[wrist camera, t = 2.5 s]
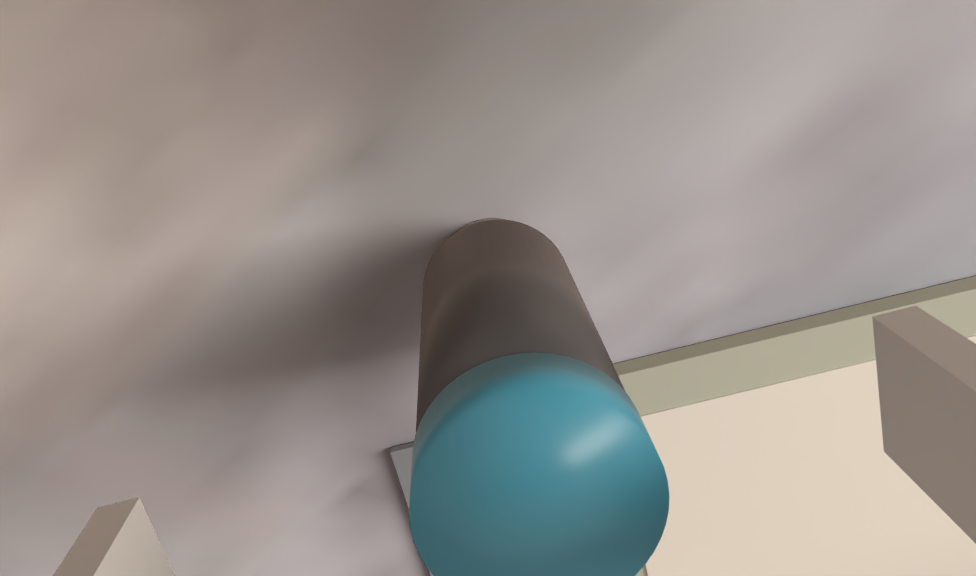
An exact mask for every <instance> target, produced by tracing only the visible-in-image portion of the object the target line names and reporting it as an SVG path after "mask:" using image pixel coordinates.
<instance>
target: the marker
mask: <svg viewBox="0 0 976 576" xmlns="http://www.w3.org/2000/svg"><path fill="white" fill-rule="evenodd" d="M668 512H669V487H668V480H667V476H666V472H665V469H664V466H663V464H662V461H661V459H660V457H659V455H658V453H657V450H656V448H655V446H654V444H653V442H652V440H651V438H650V436H649V434H648V431H647V429H646V427H645V425H644V423H643V421H642V419H641V417H640V415H639V412H638V410H637V408H636V406H635V405H634V403H633V402H632V400H631V399H630V397H629V395H628V394H627V393H626V392H625V389H624V387H623V385H622V383H621V381H620V379H619V376H618V374H617V372H616V370H615V368H614V366H613V364H612V361H611V359H610V357H609V355H608V353H607V351H606V349H605V346H604V344H603V342H602V340H601V338H600V336H599V333H598V331H597V329H596V327H595V325H594V323H593V321H592V318H591V316H590V314H589V312H588V310H587V308H586V306H585V303H584V301H583V299H582V297H581V295H580V293H579V291H578V288H577V286H576V284H575V282H574V280H573V278H572V275H571V273H570V271H569V269H568V267H567V265H566V263H565V260H564V258H563V256H562V255H561V253H560V251H559V250H558V248H557V247H556V246H555V245H554V244H553V242H552V241H551V240H549V239H548V238H547V237H546V236H545V235H544V234H542V233H541V232H539V231H538V230H536V229H534V228H532V227H530V226H528V225H525V224H522V223H519V222H515V221H510V220H505V219H500V218H487V219H481V220H478V221H474V222H472V223H470V224H468V225H466V226H464V227H463V228H461V229H460V230H459V231H457V232H456V233H454V234H452V235H451V236H450V237H449V238H448V239H446V240H445V241H444V242H443V243H442V244H441V245H440V247H439V248H438V249H437V250H436V252H435V253H434V255H433V256H432V258H431V260H430V262H429V264H428V267H427V269H426V272H425V277H424V281H423V297H422V318H421V339H420V360H419V381H418V403H417V424H416V435H415V440H414V444H413V451H412V467H411V485H410V504H409V519H410V529H411V533H412V537H413V541H414V544H415V546H416V548H417V551H418V553H419V555H420V557H421V559H422V560H423V562H424V564H425V565H426V567H427V568H428V569H429V571H430V572H431V573H432V574H433V575H434V576H635V575H636V574H637V573H638V572H639V571H640V570H641V568H642V567H643V566H644V565H645V564H646V563H647V561H648V560H649V558H650V557H651V555H652V554H653V553H654V551H655V549H656V547H657V545H658V543H659V541H660V539H661V537H662V534H663V532H664V529H665V526H666V522H667V517H668Z"/></svg>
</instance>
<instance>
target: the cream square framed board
mask: <svg viewBox="0 0 976 576" xmlns="http://www.w3.org/2000/svg"><path fill="white" fill-rule="evenodd" d="M912 306H917V307H919V308H920V309H922V310H923V311H925V312H927V313H928V314H930V315H931V316H933V317H934V318H936V319H938V320H939V321H941V322H942V323H944V324H945V325H947V326H949V327H950V328H952V329H953V330H955V331H956V332H958V333H960V334H961V335H963V336H964V337H966V338H967V339H969V340H971V341H972V342H974V343H975V344H976V276H973V277H969V278H965V279H961V280H957V281H953V282H949V283H944V284H940V285H936V286H932V287H928V288H924V289H920V290H916V291H912V292H907V293H903V294H899V295H895V296H891V297H887V298H883V299H879V300H875V301H870V302H866V303H862V304H858V305H854V306H850V307H846V308H842V309H838V310H833V311H829V312H825V313H821V314H817V315H813V316H809V317H805V318H801V319H796V320H792V321H788V322H784V323H780V324H776V325H772V326H768V327H764V328H759V329H755V330H751V331H747V332H743V333H739V334H735V335H731V336H727V337H722V338H718V339H714V340H710V341H706V342H702V343H698V344H694V345H690V346H686V347H681V348H677V349H673V350H669V351H665V352H661V353H657V354H653V355H649V356H644V357H640V358H636V359H632V360H628V361H624V362H620V363H616V364H613V366H614V368H615V370H616V372H617V374H618V376H619V379H620V381H621V383H622V385H623V387H624V389H625V392H626V393H627V394H628V395H629V397H630V399H631V400H632V402H633V403H634V405H635V406H636V408H637V410H638V412H639V415H640V417H641V419H642V421H643V423H644V425H645V427H646V429H647V431H648V434H649V436H650V438H651V440H652V442H653V444H654V446H655V448H656V450H657V453H658V455H659V457H660V459H661V461H662V464H663V466H664V469H665V472H666V476H667V480H668V487H669V512H668V517H667V522H666V526H665V529H664V532H663V534H662V537H661V539H660V541H659V543H658V545H657V547H656V549H655V551H654V553H653V554H652V555H651V557H650V558H649V560H648V561H647V563H646V564H645V565H644V566H643V567H642V568H641V570H640V571H639V572H638V573H637V574H636V575H635V576H976V544H975V543H974V542H973V541H972V540H971V539H970V538H969V537H968V536H967V535H966V534H965V533H964V532H963V531H962V529H961V528H960V527H959V526H958V525H957V524H956V523H955V522H954V521H953V520H952V519H951V518H950V517H949V516H948V515H947V514H946V513H945V512H944V511H943V510H942V509H941V508H940V507H939V506H938V505H937V504H936V503H935V502H934V501H933V500H932V499H931V498H930V497H929V496H928V495H927V494H926V493H925V492H924V491H923V490H922V489H921V488H920V487H919V486H918V485H917V484H916V483H915V482H914V481H913V480H912V479H911V478H910V477H909V476H908V475H907V474H906V473H905V472H904V471H903V470H902V469H901V468H900V467H899V466H898V465H897V464H896V463H895V462H894V461H893V460H892V459H891V458H890V457H889V456H888V455H887V454H886V453H885V452H884V447H883V436H882V424H881V413H880V401H879V389H878V378H877V366H876V355H875V343H874V332H873V320H872V316H876V315H880V314H884V313H888V312H892V311H896V310H900V309H904V308H908V307H912Z"/></svg>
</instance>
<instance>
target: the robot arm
mask: <svg viewBox="0 0 976 576" xmlns="http://www.w3.org/2000/svg"><path fill="white" fill-rule="evenodd" d="M872 320H873V332H874V343H875V355H876V366H877V378H878V389H879V401H880V413H881V424H882V436H883V447H884V452H885V453H886V454H887V455H888V456H889V457H890V458H891V459H892V460H893V461H894V462H895V463H896V464H897V465H898V466H899V467H900V468H901V469H902V470H903V471H904V472H905V473H906V474H907V475H908V476H909V477H910V478H911V479H912V480H913V481H914V482H915V483H916V484H917V485H918V486H919V487H920V488H921V489H922V490H923V491H924V492H925V493H926V494H927V495H928V496H929V497H930V498H931V499H932V500H933V501H934V502H935V503H936V504H937V505H938V506H939V507H940V508H941V509H942V510H943V511H944V512H945V513H946V514H947V515H948V516H949V517H950V518H951V519H952V520H953V521H954V522H955V523H956V524H957V525H958V526H959V527H960V528H961V529H962V531H963V532H964V533H965V534H966V535H967V536H968V537H969V538H970V539H971V540H972V541H973V542H974V543H975V544H976V344H975V343H974V342H972V341H971V340H969V339H967V338H966V337H964V336H963V335H961V334H960V333H958V332H956V331H955V330H953V329H952V328H950V327H949V326H947V325H945V324H944V323H942V322H941V321H939V320H938V319H936V318H934V317H933V316H931V315H930V314H928V313H927V312H925V311H923V310H922V309H920V308H919V307H917V306H912V307H908V308H904V309H900V310H896V311H892V312H888V313H884V314H880V315H876V316H872ZM53 576H175V575H174V572H173V570H172V568H171V566H170V564H169V561H168V559H167V557H166V555H165V553H164V551H163V548H162V546H161V544H160V542H159V540H158V537H157V535H156V533H155V531H154V529H153V526H152V524H151V522H150V520H149V518H148V515H147V513H146V511H145V509H144V507H143V504H142V502H141V500H140V498H135V499H131V500H127V501H123V502H119V503H115V504H111V505H107V506H103V507H99V508H97V509H96V511H95V512H94V514H93V515H92V517H91V518H90V520H89V521H88V523H87V524H86V526H85V527H84V529H83V530H82V532H81V534H80V535H79V537H78V538H77V540H76V541H75V543H74V544H73V546H72V547H71V549H70V550H69V552H68V553H67V555H66V556H65V558H64V560H63V561H62V563H61V564H60V566H59V567H58V569H57V570H56V572H55V573H54V575H53Z"/></svg>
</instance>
